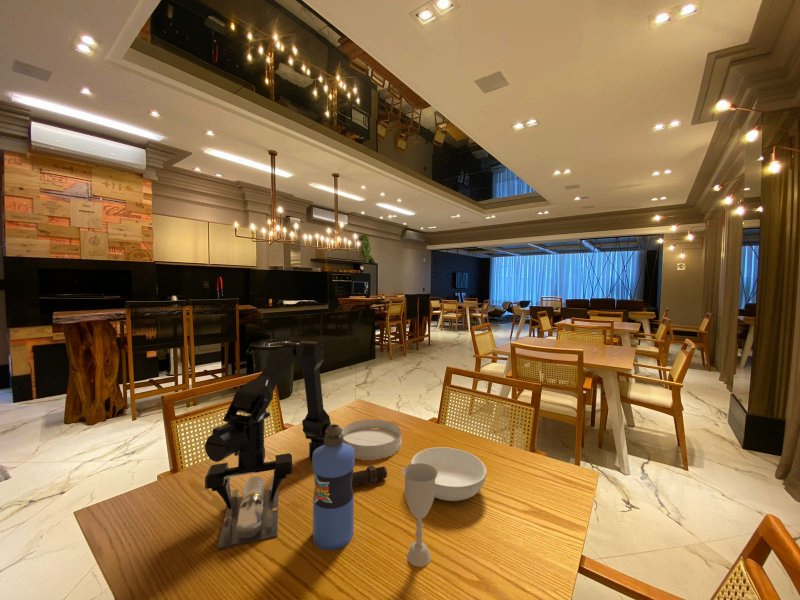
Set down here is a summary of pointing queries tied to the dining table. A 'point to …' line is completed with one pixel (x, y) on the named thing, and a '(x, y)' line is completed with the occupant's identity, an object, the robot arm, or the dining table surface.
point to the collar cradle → (267, 522)
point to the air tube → (251, 508)
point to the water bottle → (333, 491)
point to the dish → (372, 438)
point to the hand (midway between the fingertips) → (251, 504)
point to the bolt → (369, 475)
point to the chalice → (419, 506)
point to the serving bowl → (453, 472)
